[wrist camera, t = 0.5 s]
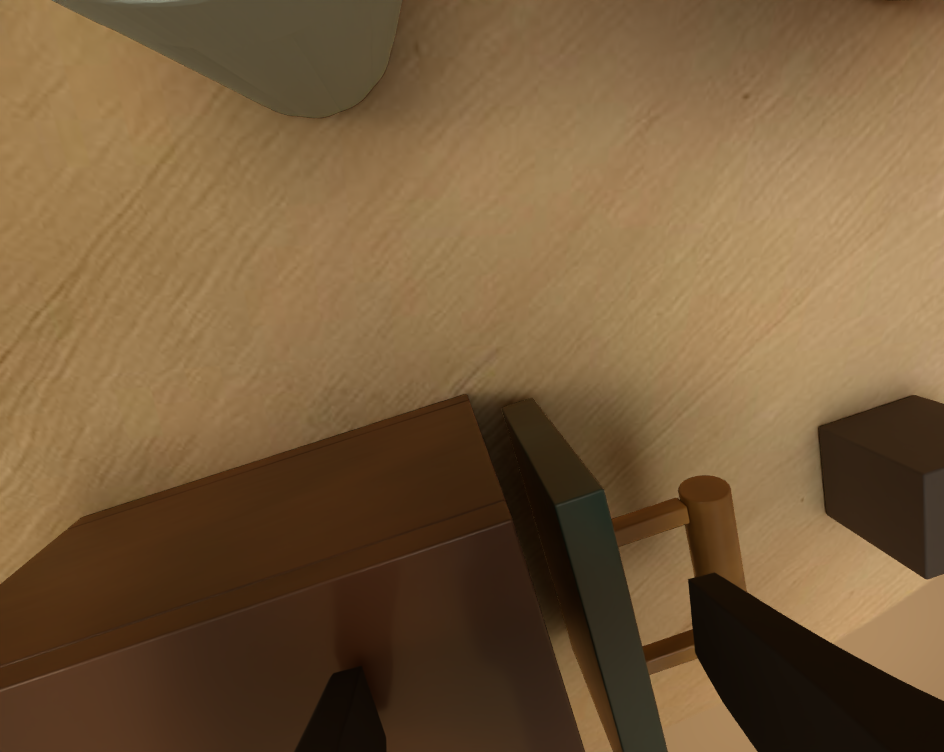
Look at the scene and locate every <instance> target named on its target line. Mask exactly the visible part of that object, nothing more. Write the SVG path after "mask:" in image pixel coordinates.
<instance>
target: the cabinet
mask: <svg viewBox="0 0 944 752" xmlns="http://www.w3.org/2000/svg"><path fill="white" fill-rule="evenodd" d="M358 666H362V668H363V671H364V674H365V677H366V680H367V683H368V686H369V688H370V691H371V694H372V697H373V700H374V703H375V706H376V709H377V712H378V715H379V718H380V721H381V723H382V726H383V729H384V732H385V735H386V744H387V752H585V750H584V747H583V744H582V740H581V737H580V734H579V731H578V728H577V724H576V721H575V718H574V715H573V712H572V708H571V705H570V702H569V699H568V696H567V692H566V689H565V686H564V683H563V680H562V676H561V673H560V670H559V667H558V663H557V660H556V657H555V654H554V651H553V647H552V644H551V641H550V638H549V635H548V631H547V628H546V625H545V622H544V619H543V615H542V612H541V609H540V606H539V603H538V599H537V596H536V593H535V590H534V586H533V583H532V580H531V577H530V574H529V570H528V567H527V564H526V561H525V558H524V554H523V551H522V548H521V545H520V542H519V538H518V535H517V532H516V529H515V526H514V522H513V519H512V517H511V514H510V511H509V508H508V506H507V503H506V500H505V497H504V495H503V492H502V489H501V486H500V484H499V481H498V478H497V475H496V473H495V470H494V467H493V464H492V462H491V459H490V456H489V454H488V451H487V448H486V445H485V443H484V440H483V437H482V434H481V432H480V429H479V426H478V423H477V421H476V418H475V415H474V412H473V410H472V407H471V404H470V402H469V399H468V396H467V395H466V394H464V395H461V396H458V397H455V398H452V399H449V400H446V401H443V402H440V403H436V404H433V405H430V406H427V407H424V408H421V409H418V410H415V411H412V412H408V413H405V414H402V415H399V416H396V417H393V418H390V419H387V420H384V421H380V422H377V423H374V424H371V425H368V426H365V427H362V428H359V429H356V430H352V431H349V432H346V433H343V434H340V435H337V436H334V437H331V438H328V439H324V440H321V441H318V442H315V443H312V444H309V445H306V446H303V447H300V448H296V449H293V450H290V451H287V452H284V453H281V454H278V455H275V456H272V457H269V458H265V459H262V460H259V461H256V462H253V463H250V464H247V465H244V466H241V467H237V468H234V469H231V470H228V471H225V472H222V473H219V474H216V475H213V476H209V477H206V478H203V479H200V480H197V481H194V482H191V483H188V484H185V485H181V486H178V487H175V488H172V489H169V490H166V491H163V492H160V493H157V494H153V495H150V496H147V497H144V498H141V499H138V500H135V501H132V502H129V503H125V504H122V505H119V506H116V507H113V508H110V509H107V510H104V511H101V512H98V513H94V514H91V515H88V516H85V517H82V518H80V519H79V520H78V521H77V522H75V523H74V524H73V525H72V526H71V527H69V528H68V529H67V530H65V531H64V532H63V533H62V534H61V535H59V536H58V537H57V538H56V539H55V540H53V541H52V542H51V543H50V544H48V545H47V546H46V547H45V548H44V549H42V550H41V551H40V552H39V553H38V554H36V555H35V556H34V557H33V558H32V559H30V560H29V561H28V562H27V563H26V564H24V565H23V566H22V567H21V568H20V569H18V570H17V571H16V572H15V573H14V574H12V575H11V576H10V577H9V578H7V579H6V580H5V581H4V582H3V583H1V584H0V752H294V750H295V749H296V747H297V745H298V743H299V741H300V738H301V736H302V734H303V732H304V730H305V728H306V726H307V724H308V722H309V720H310V718H311V716H312V714H313V712H314V710H315V708H316V706H317V703H318V701H319V699H320V697H321V695H322V693H323V691H324V689H325V687H326V684H327V682H328V680H329V678H330V677H331V675H332V674H333V673H336V672H339V671H343V670H347V669H351V668H355V667H358Z"/></svg>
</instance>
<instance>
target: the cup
mask: <svg viewBox="0 0 944 752" xmlns="http://www.w3.org/2000/svg"><path fill="white" fill-rule="evenodd" d="M52 1H54V2H56V3H58V4H60V5H62V6H64V7H66V8H68V9H70V10H72V11H74V12H76V13H78V14H80V15H82V16H84V17H86V18H88V19H90V20H92V21H94V22H97V23H99V24H101V25H104V26H106V27H108V28H111V29H113V30H115V31H117V32H119V33H121V34H123V35H125V36H127V37H129V38H131V39H133V40H135V41H137V42H139V43H141V44H143V45H145V46H147V47H149V48H151V49H153V50H155V51H157V52H159V53H160V54H162V55H164V56H166V57H168V58H170V59H172V60H174V61H176V62H178V63H180V64H182V65H184V66H186V67H188V68H190V69H192V70H194V71H196V72H198V73H200V74H202V75H204V76H206V77H208V78H210V79H212V80H214V81H216V82H218V83H220V84H222V85H224V86H226V87H228V88H230V89H232V90H234V91H236V92H238V93H240V94H242V95H243V96H245V97H247V98H249V99H251V100H253V101H255V102H257V103H260V104H262V105H264V106H266V107H268V108H270V109H272V110H274V111H277V112H279V113H282V114H285V115H291V116H303V117H309V118H323V117H328V116H331V115H333V114H336V113H338V112H341V111H343V110H346V109H349V108H351V107H353V106H355V105H356V104H358V103H359V102H361V101H362V100H363V99H364V98H365V97H366V96H367V94H368V93H369V92H370V91H371V89H372V88H373V87H374V86H375V85H376V84H377V83H378V81H379V80H380V79H381V77H382V76H383V74H384V72H385V70H386V68H387V65H388V62H389V58H390V52H391V49H392V46H393V43H394V39H395V35H396V30H397V25H398V20H399V15H400V10H401V5H402V0H52Z"/></svg>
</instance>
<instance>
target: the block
mask: <svg viewBox="0 0 944 752" xmlns="http://www.w3.org/2000/svg"><path fill="white" fill-rule="evenodd" d="M819 436H820V447H821V458H822V469H823V480H824V491H825V502H826V513H827V515H828V516H830V517H831V518H833V519H834V520H836V521H837V522H839V523H840V524H842V525H843V526H845V527H846V528H848V529H849V530H851V531H853V532H854V533H856V534H857V535H859V536H860V537H862V538H863V539H865V540H866V541H868V542H869V543H871V544H872V545H874V546H876V547H877V548H879V549H880V550H882V551H883V552H885V553H886V554H888V555H889V556H891V557H892V558H894V559H895V560H897V561H898V562H900V563H902V564H903V565H905V566H906V567H908V568H909V569H911V570H912V571H914V572H915V573H917V574H918V575H920V576H921V577H923V578H924V579H930V578H933V577H936V576H939V575H942V574H944V404H943V403H939V402H936V401H933V400H929V399H926V398H923V397H919V396H911V397H908V398H905V399H902V400H899V401H896V402H893V403H890V404H887V405H884V406H881V407H878V408H875V409H872V410H869V411H866V412H863V413H860V414H857V415H854V416H851V417H848V418H845V419H842V420H839V421H836V422H833V423H830V424H827V425H824V426H821V427H819Z"/></svg>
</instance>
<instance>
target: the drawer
mask: <svg viewBox="0 0 944 752" xmlns="http://www.w3.org/2000/svg"><path fill="white" fill-rule="evenodd" d="M502 413H503V416H504V420H505V423H506V426H507V430H508V433H509V436H510V440H511V443H512V447H513V450H514V453H515V457H516V460H517V463H518V467H519V470H520V473H521V477H522V480H523V484H524V487H525V490H526V494H527V497H528V500H529V504H530V507H531V511H532V514H533V517H534V521H535V524H536V527H537V531H538V534H539V538H540V541H541V544H542V548H543V551H544V554H545V558H546V561H547V565H548V568H549V571H550V575H551V578H552V581H553V585H554V588H555V592H556V595H557V598H558V602H559V605H560V608H561V612H562V615H563V619H564V622H565V625H566V629H567V632H568V635H569V639H570V642H571V645H572V649H573V651H574V654H575V656H576V659H577V661H578V664H579V666H580V669H581V672H582V674H583V677H584V679H585V682H586V684H587V687H588V689H589V692H590V694H591V697H592V699H593V702H594V704H595V707H596V709H597V712H598V714H599V717H600V719H601V722H602V724H603V727H604V730H605V732H606V735H607V737H608V740H609V742H610V745H611V747H612V750H613V752H668V751H667V747H666V742H665V738H664V734H663V730H662V726H661V722H660V718H659V714H658V709H657V705H656V701H655V697H654V693H653V689H652V685H651V680H650V676H649V675H651V674H654V673H657V672H660V671H662V670H665V669H668V668H671V667H674V666H677V665H680V664H683V663H686V662H688V661H691V660H694V659H697V658H698V657H697V656H696V654H695V647H694V636H693V629H692V630H689V631H686V632H683V633H680V634H677V635H674V636H671V637H669V638H666V639H663V640H660V641H657V642H654V643H651V644H648V645H645V646H643V647H642V643H641V639H640V635H639V631H638V627H637V623H636V619H635V614H634V610H633V606H632V602H631V598H630V594H629V590H628V585H627V581H626V577H625V573H624V569H623V565H622V561H621V557H620V552H619V548H618V547H620V546H623V545H626V544H629V543H632V542H635V541H638V540H641V539H644V538H647V537H650V536H653V535H655V534H658V533H661V532H664V531H667V530H670V529H673V528H676V527H679V526H682V525H685V529H686V534H687V540H688V545H689V550H690V555H691V561H692V566H693V571H694V576H695V577H698V576H702V575H706V574H710V573H714V572H715V573H717V574H718V575H720V576H722V577H723V578H725V579H727V580H728V581H730V582H731V583H733V584H735V585H736V586H738V587H739V588H741V589H743V590H744V591H746V584H745V578H744V571H743V565H742V558H741V552H740V545H739V539H738V533H737V526H736V520H735V513H734V507H733V500H732V494H731V488H730V486H729V484H728V483H727V482H726V481H725V480H723V479H721V478H718V477H715V476H707V475H702V476H695V477H691V478H688V479H686V480H685V481H683V482H682V483H681V484H680V486H679V488H678V493H679V498H680V500H679V499H678V498H673V499H670V500H667V501H664V502H661V503H658V504H655V505H652V506H649V507H646V508H643V509H640V510H637V511H634V512H631V513H628V514H625V515H622V516H619V517H616V518H613V519H611V515H610V511H609V507H608V503H607V499H606V495H605V490H604V489H603V487H602V486H601V485H600V484H599V482H598V481H597V480H596V478H595V477H594V476H593V475H592V473H591V472H590V471H589V470H588V468H587V467H586V466H585V464H584V463H583V462H582V461H581V459H580V458H579V457H578V455H577V454H576V453H575V452H574V450H573V449H572V448H571V447H570V445H569V444H568V443H567V441H566V440H565V439H564V438H563V436H562V435H561V434H560V432H559V431H558V430H557V429H556V427H555V426H554V425H553V423H552V422H551V421H550V420H549V418H548V417H547V416H546V415H545V413H544V412H543V411H542V409H541V408H540V407H539V406H538V404H537V403H536V402H535V400H534V399H533V398H530V399H527V400H524V401H521V402H517V403H514V404H511V405H508V406H505V407H502ZM746 592H747V591H746Z"/></svg>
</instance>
